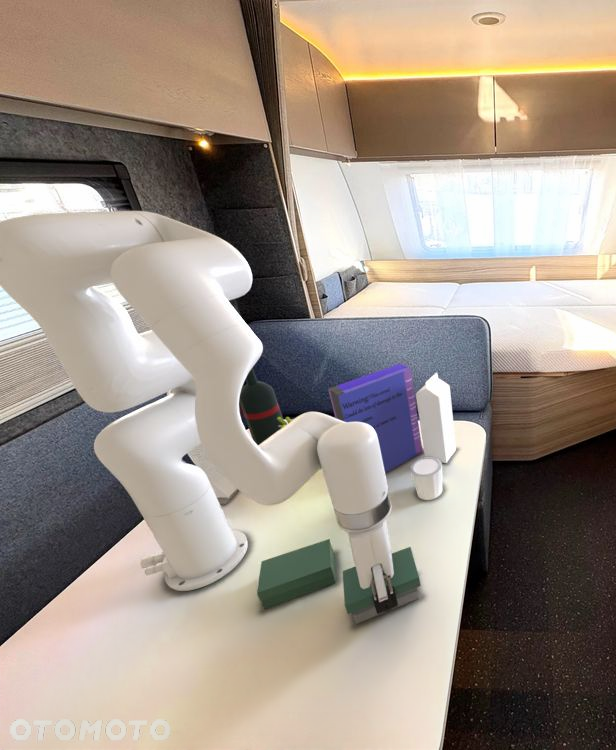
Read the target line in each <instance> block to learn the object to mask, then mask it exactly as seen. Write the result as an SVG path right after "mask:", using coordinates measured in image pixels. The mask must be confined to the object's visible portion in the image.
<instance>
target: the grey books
mask: <svg viewBox="0 0 616 750" xmlns="http://www.w3.org/2000/svg"><path fill="white" fill-rule="evenodd" d="M396 598H397V602H398V606H396V607H394V608H392V609H390V610H389V611H392V610H394V609H397V608H400V607H402V606H405V605H406V604H409V603H411V602H414V601H417V600H418V599H420V594H419V589H418V587H416V588H414V589H411V590H409V591H406V592H404V593H401V594H399V595H396ZM387 612H388V611H386V612H382V613H380V614H377V612H376V609H375V605H371V606H369V607H366V608H364V609H361V610H359V611H356V612H354V613H352V615H353V619H354V622H355V623H354V624H356V625H357V624H360V623H362V622H366V621H368V620H371V619H372V618H374V617H377V616H380V615H382V614H385V613H387Z"/></svg>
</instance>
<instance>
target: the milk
mask: <svg viewBox="0 0 616 750" xmlns="http://www.w3.org/2000/svg"><path fill="white" fill-rule="evenodd" d="M438 374H439V373H438V372H435V373H434V374H433V375H432V376H431V377H430V378H428V379H427V380H426V381H425V384H424V385H423V387H421V388H420V389H419V390H418V391H417V392H416V393H415V400H416V407H417V414H418V421H419V428H420V434H421V441H422V448H423V453H424V457H434V458H437V459H439V460H440V461H441V463H442V464H447V463H448V462H449V461H450V459H451V458H452V456H453V455H454V454H455V452H456V450H457V444H456V435H455V425H454V416H453V415H454V414H453V406H452V397H451V396H452V395H451V387H450V384H448V383H447V382H446V381H444V380H443V379H441V378H439V375H438Z"/></svg>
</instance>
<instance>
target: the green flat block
mask: <svg viewBox="0 0 616 750" xmlns="http://www.w3.org/2000/svg"><path fill="white" fill-rule="evenodd" d="M391 553H392V562H393V571H394V575H393V577H392V578H390V580H391V584H392V586H394V589H395V594H396V595H399V594H401V593H404V592H406V591H409V590H411V589H414V588H416V587H417V588H419V587H421V581H420V576H419V572H418V568H417V564H416V560H415V558H414V554H413V550H412V547H411V546H408V547H406V548H403V549H400V550H398V551H394V552H391ZM382 572H384V571H383V570H382ZM373 576H374V574H373ZM384 581H385V586H388V584H387V579H385V580H384ZM342 585H343V597H344V608H345V610H346V614H347V615H348V616H349V615H351V614H353V613H354V612H356V611H359V610H361V609H364V608H366V607H369V606H371V605H374V601H373V597H372V594H373V591H372V587H371V584H370V587H368V588H365V589H362V588H361V587H360V583H359V578H358V574H357V570H356V566H352V567H350V568H347V569H345V570H342ZM375 586H376V584H375ZM376 590H377V589H376Z"/></svg>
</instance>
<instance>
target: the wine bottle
mask: <svg viewBox="0 0 616 750" xmlns="http://www.w3.org/2000/svg"><path fill="white" fill-rule="evenodd" d="M245 382H246V384H245V385H243V386H242V389H241V393H240V398H239V411H240V414H241V415H242V416H243V417H244V419H245V422H246V426H247V427H248V431H249V433H250V437H251V438H252V439H253V441H254V442H255V443H256V444H257V445H260V444H261V443H262V442H264V441H265V440H266V439H268V438H269V437H270V436H272V435H273V434H274V433H276V432H277V431H279V430H280V429H281V428H280V427H278V426H279V425H283V424H282V423H281V422H280V421H278V420H277V418H278V417H281V418H282V419H283V420H284V416H283V413H282V411H281V408H280V405H279V402H278V399H277V395H276V393H275V390H274V388H273V386H271V385H270V384H268V383H267V382H265V381H259V380H258V378H257V376H256V373H255V370H254V366H253V367H252V369H251V370H250V371H249V373H248V375H247V377H246V379H245Z"/></svg>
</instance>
